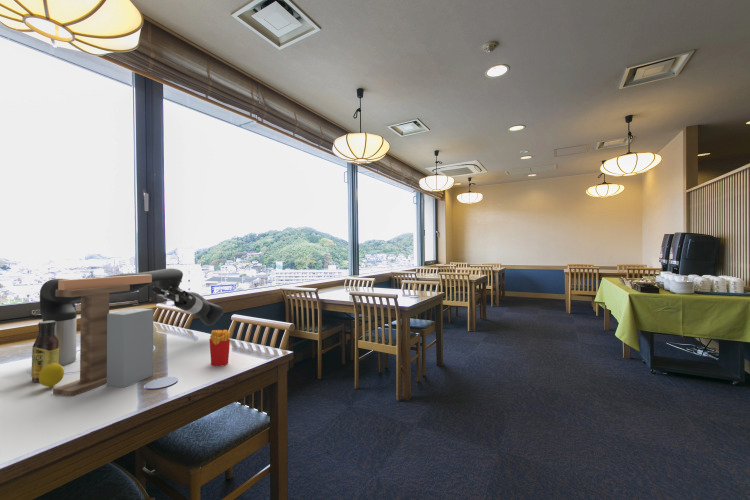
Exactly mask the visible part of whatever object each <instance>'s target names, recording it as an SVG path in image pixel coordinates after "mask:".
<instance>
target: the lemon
mask: <svg viewBox="0 0 750 500" xmlns="http://www.w3.org/2000/svg"><path fill="white" fill-rule="evenodd" d="M64 375H65V370H64V367H63V365H60V364H57V363H53V362H52V363H50V364H48V365H46V366H45V367H43V368H42V370H41V371H40V374H39V382H38V383H40V385H42V386H44V387H49V388H53V387H55V386H56V385H58V384H59V383H60V382H61V381H63V378H64Z"/></svg>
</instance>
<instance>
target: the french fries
mask: <svg viewBox="0 0 750 500" xmlns="http://www.w3.org/2000/svg"><path fill="white" fill-rule="evenodd" d="M230 336H231V332H230V330H228V329H214V330H213V329H212V330H211V333H210V336H209V337H210V338H209V349H210V350H209V351H210V352H209V353H210V365H211V364H212V366H215V365H217V367H222V366H221V365H224V366H226V365H225V364H227V363H228V364H229V355H230V345H231V339H230ZM228 364H227V365H228Z"/></svg>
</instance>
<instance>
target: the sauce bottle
mask: <svg viewBox="0 0 750 500" xmlns="http://www.w3.org/2000/svg"><path fill="white" fill-rule="evenodd" d="M55 325H56V321H43V320H41V321H39V322H38V324H37V328H38V333H37V334H38V335H37V336H36V339H35V341H34V343H33V345H32V349H31V350H32V352H31V372H30V373H31V381H32V382H33V383H40V382H39V374H40V371H41V370H42V368H43V367H45V366H46V365H48V364H50V363H52V362H53V363H57V364H59V339H58V338H57V336H56V335H55Z"/></svg>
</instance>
